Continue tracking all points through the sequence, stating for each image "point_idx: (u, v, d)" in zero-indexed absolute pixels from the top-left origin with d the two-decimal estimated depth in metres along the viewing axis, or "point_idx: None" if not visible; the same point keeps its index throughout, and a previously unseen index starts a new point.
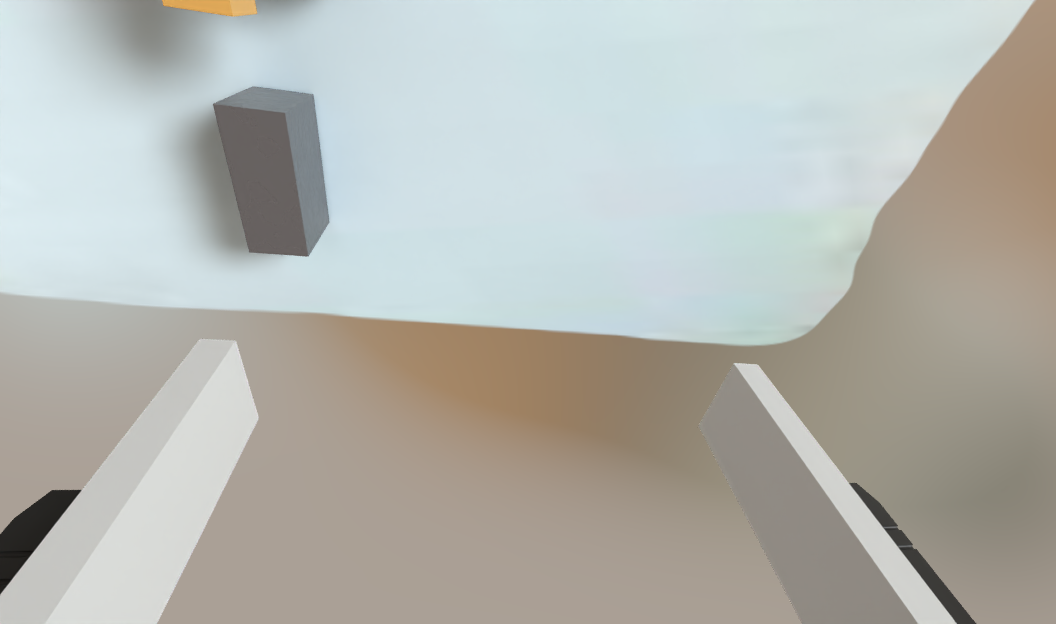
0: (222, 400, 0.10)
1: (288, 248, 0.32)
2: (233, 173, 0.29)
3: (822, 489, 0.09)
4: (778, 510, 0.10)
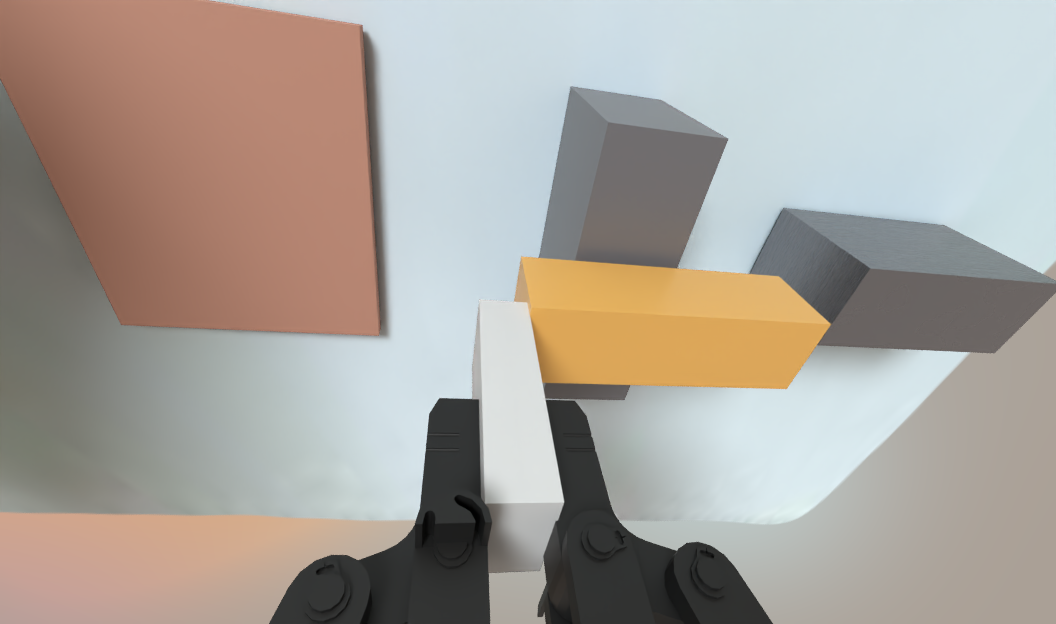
0: None
1: (1030, 307, 0.20)
2: (897, 345, 0.20)
3: (513, 397, 0.10)
4: None
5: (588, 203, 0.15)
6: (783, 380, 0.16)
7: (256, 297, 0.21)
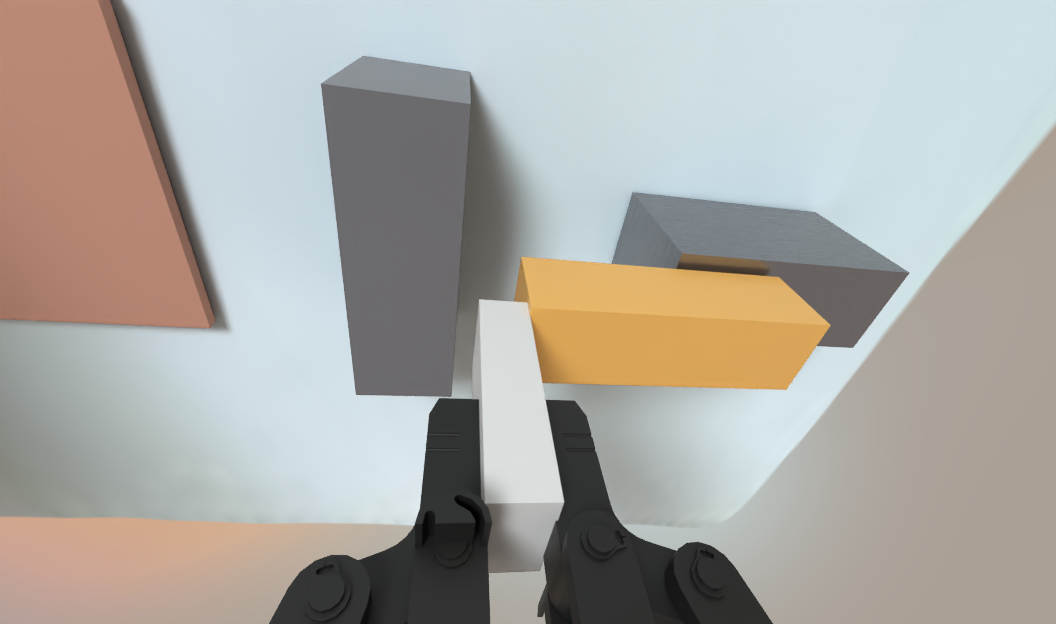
0: None
1: (878, 298, 0.18)
2: None
3: (513, 398, 0.10)
4: None
5: None
6: (782, 381, 0.16)
7: (60, 286, 0.20)
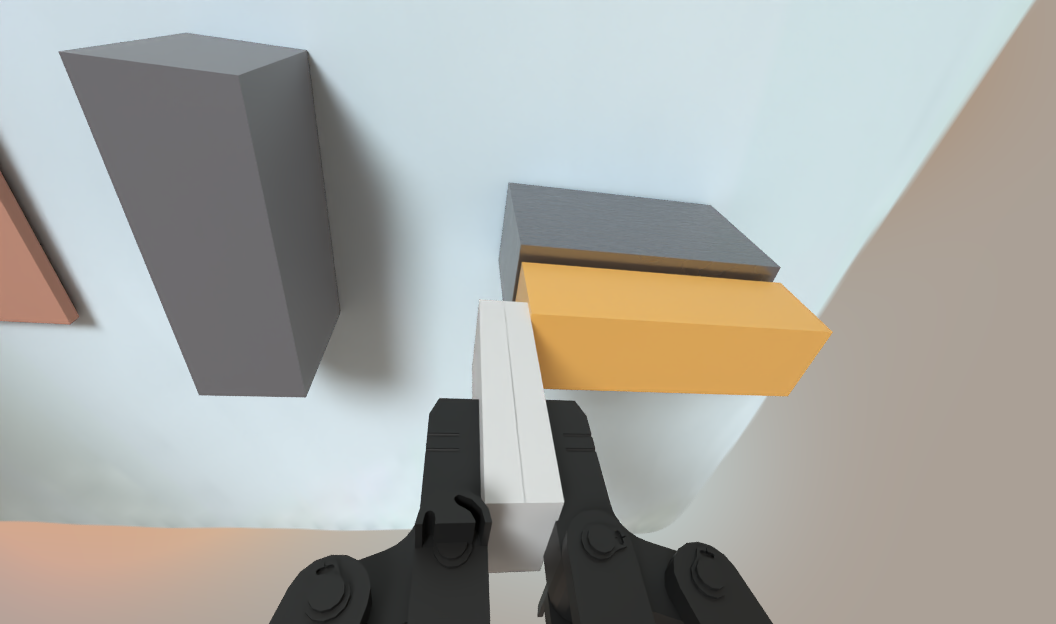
0: None
1: None
2: None
3: (513, 397, 0.10)
4: None
5: (102, 157, 0.12)
6: (784, 388, 0.16)
7: None
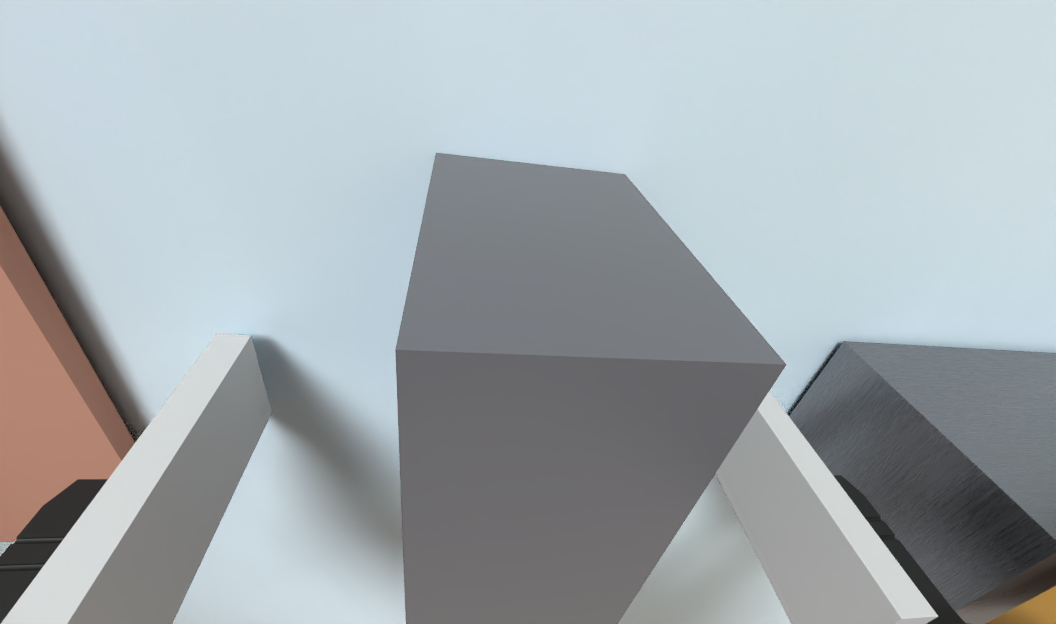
0: (238, 393, 0.10)
1: None
2: None
3: (806, 480, 0.09)
4: (764, 502, 0.11)
5: (402, 506, 0.05)
6: None
7: None
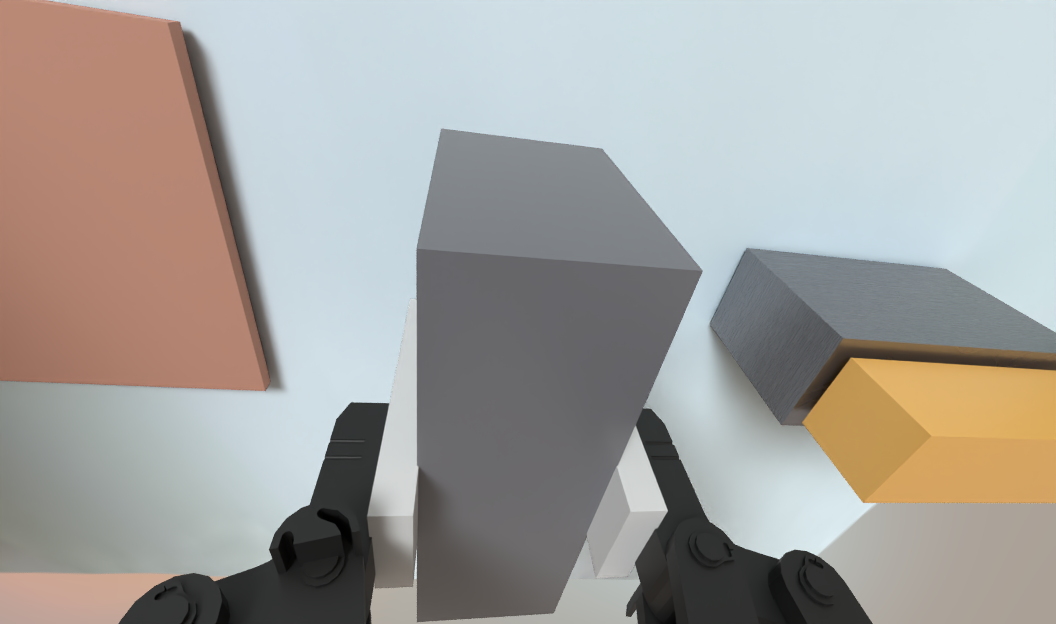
0: None
1: None
2: None
3: None
4: None
5: None
6: None
7: (105, 348, 0.18)
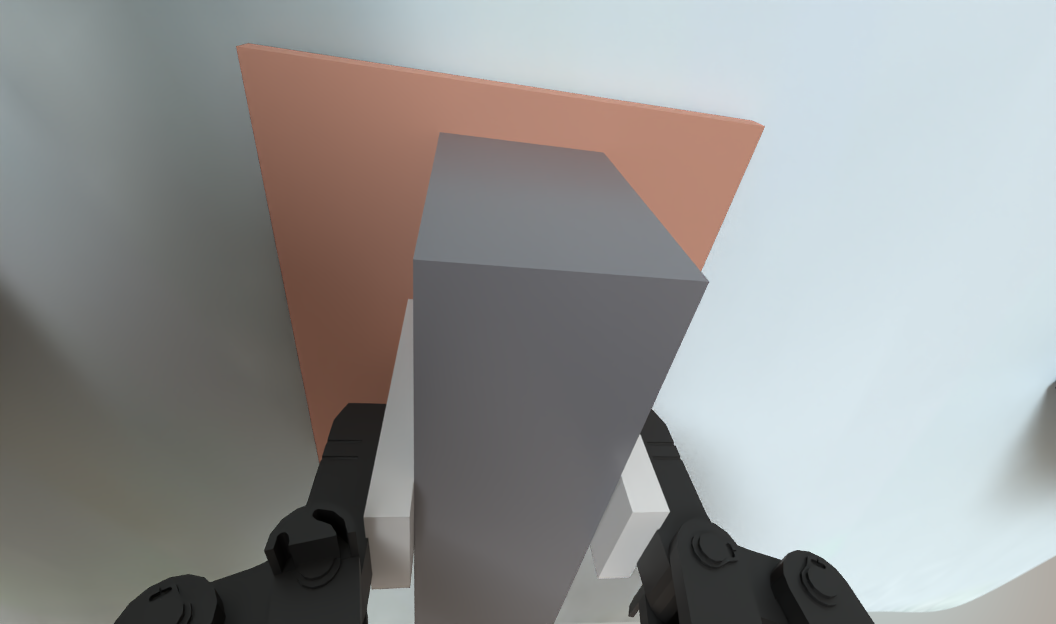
0: None
1: None
2: None
3: None
4: None
5: None
6: None
7: None
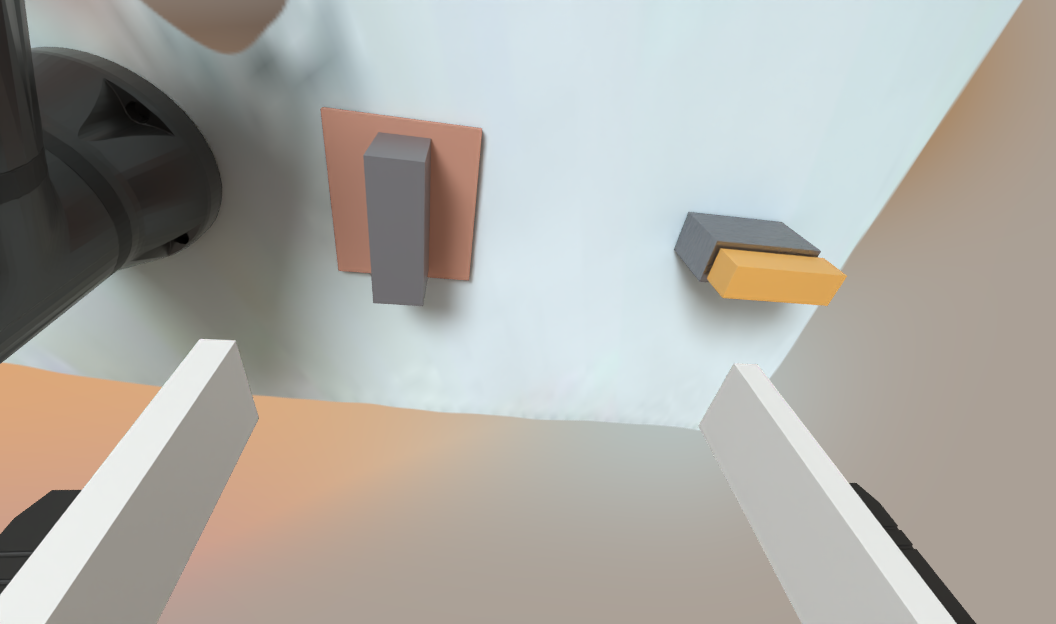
0: (222, 400, 0.10)
1: None
2: None
3: (822, 489, 0.09)
4: (778, 510, 0.10)
5: None
6: (826, 301, 0.38)
7: None
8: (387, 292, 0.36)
